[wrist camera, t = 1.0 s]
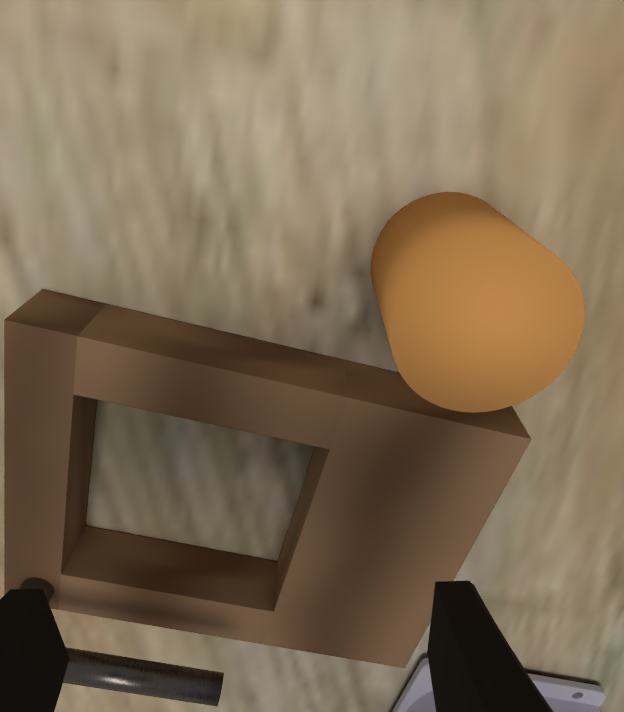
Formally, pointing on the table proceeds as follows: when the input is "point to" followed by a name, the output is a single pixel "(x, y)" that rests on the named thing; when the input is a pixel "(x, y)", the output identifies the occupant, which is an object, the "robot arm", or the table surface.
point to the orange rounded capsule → (473, 304)
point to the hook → (136, 671)
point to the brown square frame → (261, 416)
